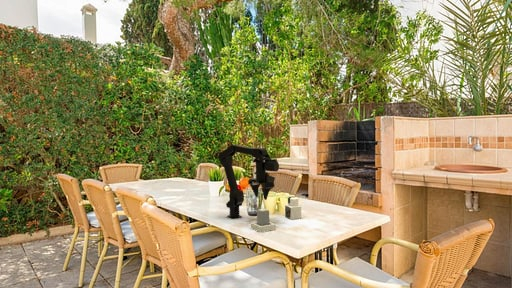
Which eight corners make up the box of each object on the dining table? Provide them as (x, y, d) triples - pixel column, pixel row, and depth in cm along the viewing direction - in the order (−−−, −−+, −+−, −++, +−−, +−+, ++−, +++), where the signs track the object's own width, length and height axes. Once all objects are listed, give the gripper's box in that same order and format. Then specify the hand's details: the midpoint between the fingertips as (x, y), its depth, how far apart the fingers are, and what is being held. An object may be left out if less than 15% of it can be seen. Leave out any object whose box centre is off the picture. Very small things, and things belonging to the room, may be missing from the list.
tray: (251, 228, 182) (250, 223, 182) (265, 225, 187) (265, 220, 187) (260, 232, 174) (260, 227, 174) (275, 229, 179) (275, 224, 179)
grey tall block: (257, 227, 181) (256, 209, 181) (264, 225, 184) (264, 208, 183) (262, 229, 178) (261, 211, 177) (269, 227, 180) (269, 209, 180)
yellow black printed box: (284, 216, 205) (284, 196, 205) (295, 215, 208) (295, 195, 207) (290, 219, 199) (290, 198, 198) (301, 218, 201) (301, 197, 201)
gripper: (282, 171, 190) (282, 199, 191) (264, 168, 206) (264, 194, 207) (265, 172, 185) (265, 202, 185) (247, 169, 201) (247, 196, 201)
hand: (261, 198), depth 195 cm, fingers open, 9 cm apart
